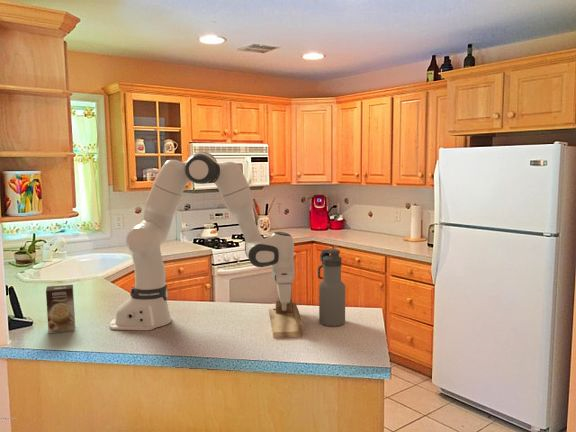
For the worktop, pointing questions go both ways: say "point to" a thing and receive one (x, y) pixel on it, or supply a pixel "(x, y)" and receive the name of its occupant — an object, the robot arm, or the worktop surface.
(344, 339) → the worktop surface
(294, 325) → the board
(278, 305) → the brown block
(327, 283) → the water bottle
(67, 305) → the coffee box
